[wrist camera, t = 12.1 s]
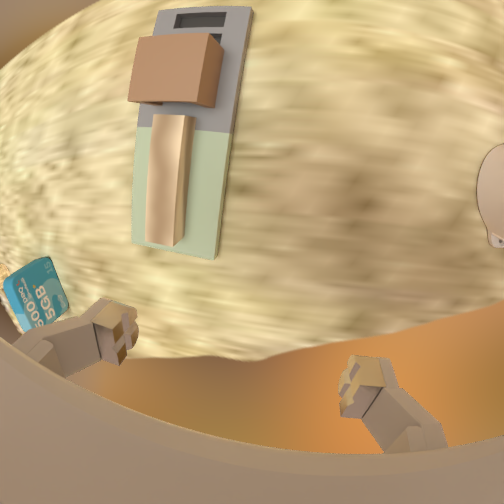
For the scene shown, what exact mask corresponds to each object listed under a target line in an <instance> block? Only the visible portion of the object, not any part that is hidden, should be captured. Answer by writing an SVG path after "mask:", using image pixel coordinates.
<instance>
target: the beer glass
mask: <svg viewBox="0 0 504 504" xmlns="http://www.w3.org/2000/svg"><path fill="white" fill-rule="evenodd" d="M10 275H11V274H10V272H9V270H8V268H7V267H6V266H5V265H4V264H0V290H1V289H3V282H4V280H5V278H7V277H8V276H10Z"/></svg>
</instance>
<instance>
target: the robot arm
mask: <svg viewBox="0 0 504 504" xmlns="http://www.w3.org/2000/svg"><path fill="white" fill-rule="evenodd" d="M477 200H478V207H479V211H480V214H481V217H482V219H483V221H484V223H485V225H486V227H487V231H488V240H489V244H490V245H491V246H493V247H495V248H504V144H502V145H499V146H497V147H495V148H494V149H492V150H491V151H490V152H489V153H488V155H487V156H486V158H485V160H484V161H483V164H482V166H481V169H480V172H479V177H478V183H477ZM499 240H500V241H499ZM136 318H137V310H136V309H135V308H134V307H131V306H128V305H125V304H122V303H119V302H116V301H113V300H110V299H107V298H104V297H103V298H100V299H99V300H98V301H97V302H96V303H94V304H93V305H92V306H91V307H90V308H89V309H88V310H87V311H86V312H85V313H84V314H82V315H81V316H80V317H77V316H76V317H72V318H69V319H65V320H61V321H58V322H54V323H51V324H47V325H43V326H40V327H36V328H32V329H29V330H28V331H27V332H25V333H24V334H23V335H22V336H21V337H20V338H19V339H18V340H17V341H16V342H14V343H13V344H12V345H11V344H9V343H8V342H6V341H5V340H4V339H2V338H1V337H0V504H504V435H502V436H498V437H495V438H491V439H487V440H483V441H479V442H475V443H470V444H465V445H460V446H454V447H448V445H447V441H446V438H445V435H444V432H443V428H442V425H441V423H440V422H439V421H437V420H436V419H435V418H434V417H433V416H432V415H431V414H430V413H429V412H428V411H427V410H425V409H424V408H423V407H422V406H421V405H420V404H419V403H418V402H417V401H416V400H415V399H413V398H412V397H411V396H410V395H409V394H408V393H407V392H406V391H405V390H404V389H403V388H399V386H398V382H397V379H396V376H395V373H394V370H393V367H392V364H391V361H390V359H389V358H381V357H367V356H358V355H351V357H350V358H349V360H348V362H347V364H348V368H347V369H345V370H344V371H343V372H342V375H341V377H340V381H339V386H338V392H339V395H340V396H341V397H342V400H341V401H340V403H339V404H340V415H341V417H347V418H359V419H361V420H362V421H363V423H364V424H365V426H366V427H367V429H368V430H369V431H370V433H371V434H372V436H373V437H374V438H375V440H376V441H377V443H378V444H379V445H380V447H381V448H382V450H383V451H384V453H383V454H334V453H332V454H331V453H318V452H306V451H295V450H287V449H280V448H273V447H266V446H260V445H254V444H249V443H243V442H238V441H234V440H229V439H225V438H221V437H217V436H212V435H208V434H204V433H201V432H197V431H194V430H190V429H187V428H183V427H180V426H177V425H174V424H171V423H168V422H164V421H162V420H159V419H156V418H153V417H150V416H147V415H145V414H142V413H139V412H137V411H134V410H132V409H129V408H127V407H124V406H122V405H120V404H117V403H115V402H112V401H110V400H108V399H106V398H103V397H101V396H99V395H97V394H95V393H93V392H91V391H88V390H87V389H85V388H83V387H81V386H79V385H77V384H75V383H73V382H71V381H69V380H67V379H66V377H68V376H70V375H72V374H74V373H77V372H79V371H81V370H83V369H85V368H86V367H89V366H91V365H93V364H95V363H97V362H99V361H100V360H101V359H102V360H105V361H107V362H110V363H113V364H115V365H118V366H120V364H121V363H122V362H123V360H124V359H125V358H126V356H127V351H126V350H129V349H131V348H133V347H134V345H135V344H136V341H137V338H138V333H139V329H138V325H137V324H136V322H135V321H134V320H135V319H136Z"/></svg>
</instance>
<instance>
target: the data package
mask: <svg viewBox="0 0 504 504" xmlns="http://www.w3.org/2000/svg"><path fill="white" fill-rule="evenodd" d="M3 289H4V291H5V294H6V296H7V298H8V300H9V303H10V305H11V307H12V309H13V311H14V313H15V315H16V317H17V319H18V321H19V323H20V325H21V327H22V329H23V331H24V332H27V331H28V330H29V329H32V328H36V327H40V326H43V325H47V324H51V323H53V322H54V321H55V320H56V319H57V318H58V317H59V316H60V315H62V314H63V313H64V312H65V311H66V310H67V308H68V301H67V298H66V296H65V294H64V291H63V289H62V287H61V284H60V282H59V279H58V277H57V274H56V271H55V269H54V266H53V263H52V261H51V260H50V259H49V258H47V257H45V258H41V259H36V260H34V261H32V262H30V263H29V264H27V265H25V266H24V267H22V268H21V269H19V270H17V271H16V272H14V273H13V274H11V275H10V276H8V277H7V278H5V280H4V282H3Z"/></svg>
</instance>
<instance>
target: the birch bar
mask: <svg viewBox="0 0 504 504" xmlns="http://www.w3.org/2000/svg"><path fill="white" fill-rule="evenodd" d="M195 125H196V117H191V116H185V115H165V114H154V115H153V123H152V132H151V141H150V151H149V163H148V176H147V193H146V218H145V241H146V242H151V243H156V244H161V245H166V246H170V247H173V246H175V245H176V244H177V243H178V242H179V241H180V240H181V239H182V238H183V237H184V234H185V220H186V207H187V195H188V185H189V175H190V165H191V157H192V148H193V140H194V132H195Z"/></svg>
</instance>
